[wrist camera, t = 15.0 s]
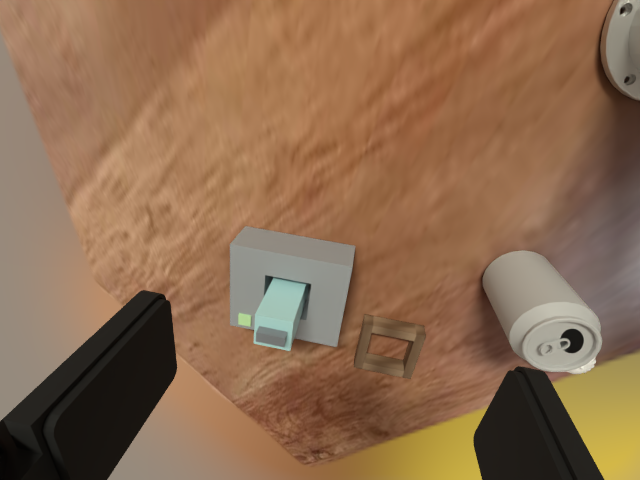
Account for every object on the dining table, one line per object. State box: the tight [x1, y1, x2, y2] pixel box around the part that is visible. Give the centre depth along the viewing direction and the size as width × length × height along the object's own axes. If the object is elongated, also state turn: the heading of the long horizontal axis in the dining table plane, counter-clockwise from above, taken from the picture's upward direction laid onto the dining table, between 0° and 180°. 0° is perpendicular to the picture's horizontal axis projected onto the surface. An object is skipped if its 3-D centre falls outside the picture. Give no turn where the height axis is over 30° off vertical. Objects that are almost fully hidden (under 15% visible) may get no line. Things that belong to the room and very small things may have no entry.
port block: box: [230, 226, 355, 347], centre depth 43 cm, size 14×12×5 cm
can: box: [483, 250, 602, 372], centre depth 35 cm, size 8×8×12 cm
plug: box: [254, 277, 309, 351], centre depth 39 cm, size 4×4×11 cm
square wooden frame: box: [354, 314, 426, 379], centre depth 47 cm, size 8×8×2 cm
